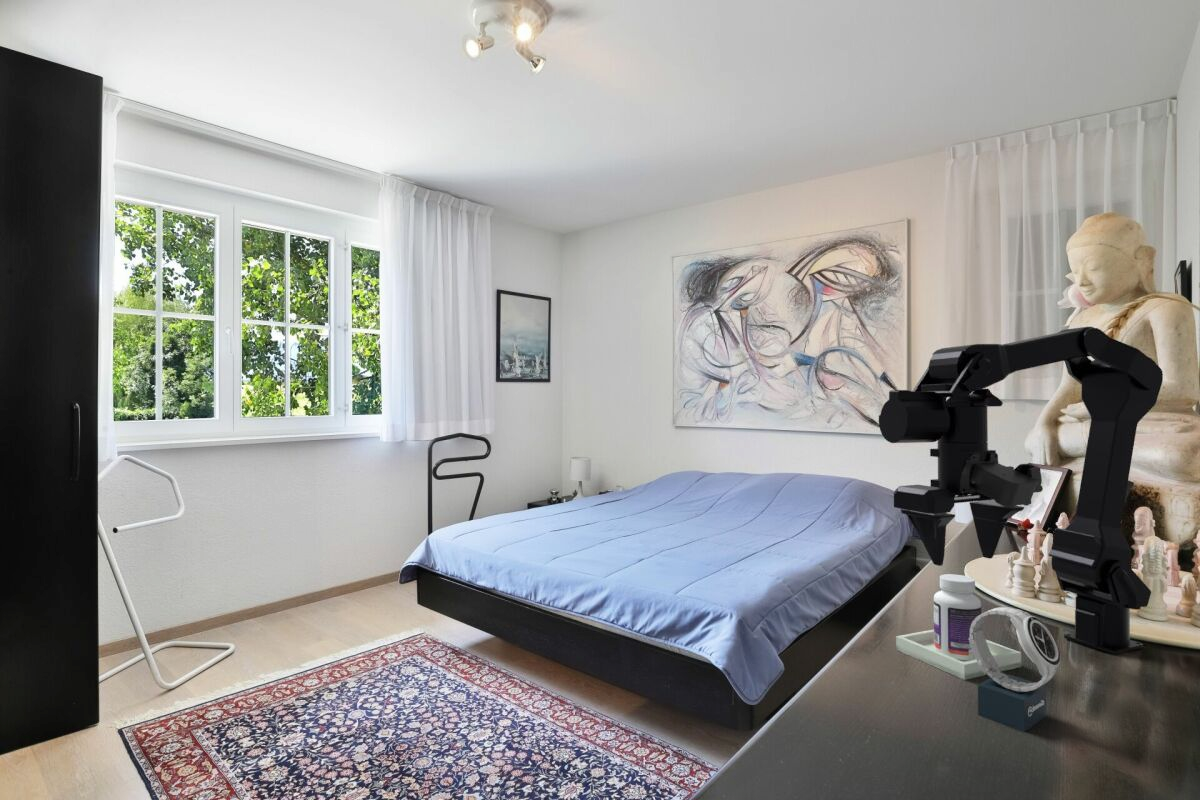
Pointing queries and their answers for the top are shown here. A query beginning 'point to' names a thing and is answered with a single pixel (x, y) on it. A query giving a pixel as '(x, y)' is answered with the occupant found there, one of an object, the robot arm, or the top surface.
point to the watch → (1007, 693)
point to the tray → (924, 650)
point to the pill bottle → (955, 616)
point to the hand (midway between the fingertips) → (963, 561)
